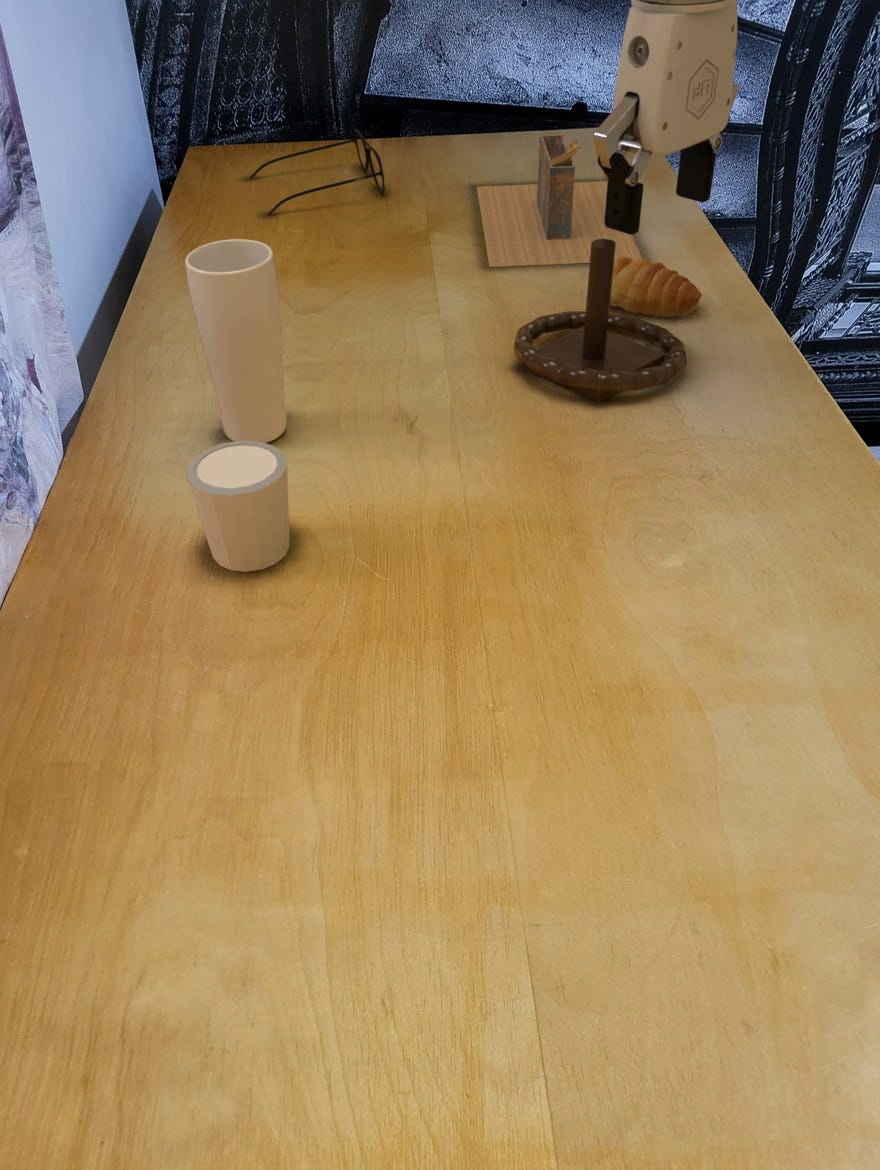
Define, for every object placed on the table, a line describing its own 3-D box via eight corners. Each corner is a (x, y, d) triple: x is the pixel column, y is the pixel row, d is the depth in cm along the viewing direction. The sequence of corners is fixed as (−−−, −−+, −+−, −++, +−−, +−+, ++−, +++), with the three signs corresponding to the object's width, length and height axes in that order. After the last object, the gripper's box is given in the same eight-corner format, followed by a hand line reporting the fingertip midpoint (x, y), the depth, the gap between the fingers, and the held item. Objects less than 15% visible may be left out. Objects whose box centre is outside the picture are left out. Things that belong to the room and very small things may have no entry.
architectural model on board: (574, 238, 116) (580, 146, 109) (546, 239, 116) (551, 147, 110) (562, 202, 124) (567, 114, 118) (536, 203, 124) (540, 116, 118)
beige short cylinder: (184, 549, 76) (165, 467, 71) (258, 509, 79) (245, 428, 74) (242, 590, 72) (227, 506, 67) (317, 546, 75) (307, 463, 71)
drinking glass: (203, 449, 86) (168, 271, 76) (232, 408, 91) (203, 236, 81) (281, 456, 84) (256, 276, 74) (306, 414, 89) (286, 240, 79)
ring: (586, 312, 102) (588, 296, 101) (720, 364, 93) (724, 347, 92) (477, 350, 94) (479, 333, 93) (613, 410, 85) (616, 392, 84)
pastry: (709, 302, 102) (716, 264, 100) (680, 328, 99) (686, 290, 96) (623, 282, 107) (627, 245, 104) (592, 307, 103) (595, 269, 100)
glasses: (388, 199, 128) (381, 157, 124) (271, 229, 127) (261, 188, 123) (360, 163, 138) (354, 124, 135) (252, 191, 137) (243, 152, 134)
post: (586, 335, 98) (596, 214, 91) (664, 366, 93) (681, 241, 86) (521, 368, 94) (526, 244, 87) (599, 402, 89) (611, 274, 81)
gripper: (652, 7, 71) (628, 255, 83) (793, -34, 80) (754, 196, 91) (568, -5, 76) (556, 232, 87) (711, -43, 84) (683, 178, 95)
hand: (657, 213), depth 89 cm, fingers open, 9 cm apart
